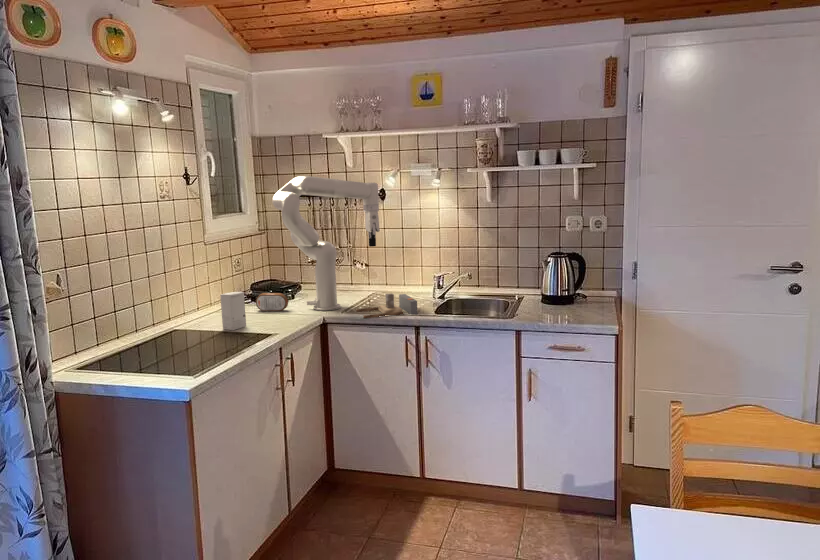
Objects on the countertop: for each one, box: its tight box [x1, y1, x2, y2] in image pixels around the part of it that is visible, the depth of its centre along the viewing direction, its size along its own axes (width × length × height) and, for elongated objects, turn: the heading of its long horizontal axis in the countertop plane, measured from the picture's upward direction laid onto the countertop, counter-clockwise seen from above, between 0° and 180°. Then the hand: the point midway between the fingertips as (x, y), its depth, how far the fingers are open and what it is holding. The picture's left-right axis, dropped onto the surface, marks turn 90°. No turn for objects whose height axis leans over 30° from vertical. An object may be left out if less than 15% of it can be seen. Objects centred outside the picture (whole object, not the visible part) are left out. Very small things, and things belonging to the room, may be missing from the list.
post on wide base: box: [377, 293, 403, 314], centre depth 285 cm, size 8×11×8 cm
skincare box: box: [219, 291, 247, 331], centre depth 263 cm, size 8×6×15 cm
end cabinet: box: [398, 293, 418, 315], centre depth 288 cm, size 3×18×6 cm, turn 17°
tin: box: [255, 292, 289, 312], centre depth 295 cm, size 15×3×8 cm, turn 84°
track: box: [355, 306, 404, 319], centre depth 284 cm, size 18×15×1 cm
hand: (372, 246), depth 309 cm, fingers closed
